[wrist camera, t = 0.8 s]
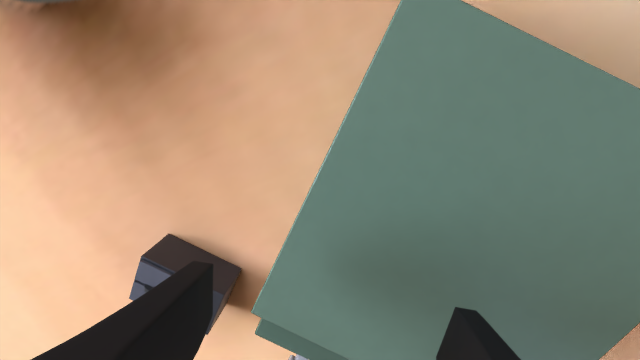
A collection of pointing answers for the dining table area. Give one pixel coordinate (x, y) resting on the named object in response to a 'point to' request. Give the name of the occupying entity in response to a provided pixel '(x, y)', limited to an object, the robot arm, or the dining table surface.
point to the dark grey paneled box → (175, 256)
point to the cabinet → (469, 199)
